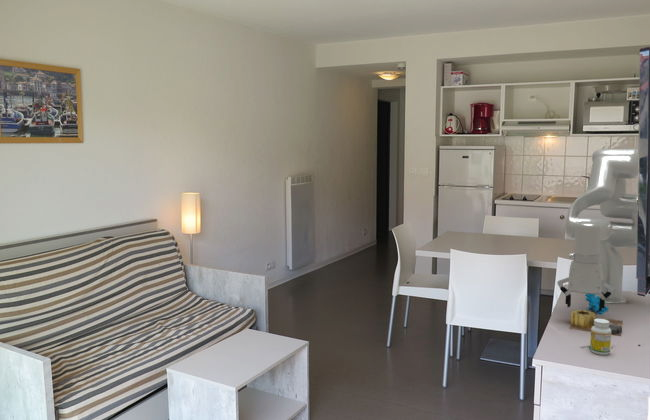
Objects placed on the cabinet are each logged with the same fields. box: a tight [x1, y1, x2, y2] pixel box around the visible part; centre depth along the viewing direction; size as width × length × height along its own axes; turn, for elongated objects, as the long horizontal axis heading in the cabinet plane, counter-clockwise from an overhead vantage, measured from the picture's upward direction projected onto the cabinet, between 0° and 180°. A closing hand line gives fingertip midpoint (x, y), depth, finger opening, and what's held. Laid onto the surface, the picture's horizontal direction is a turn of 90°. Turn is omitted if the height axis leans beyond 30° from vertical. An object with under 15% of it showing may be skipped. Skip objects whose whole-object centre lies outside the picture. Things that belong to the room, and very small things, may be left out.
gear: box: [584, 293, 609, 315], centre depth 195 cm, size 11×6×10 cm
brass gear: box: [570, 309, 596, 328], centre depth 179 cm, size 7×7×4 cm
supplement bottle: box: [589, 319, 612, 356], centre depth 158 cm, size 5×5×10 cm
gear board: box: [568, 314, 624, 337], centre depth 179 cm, size 17×15×5 cm
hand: (584, 308), depth 179 cm, fingers open, 9 cm apart
